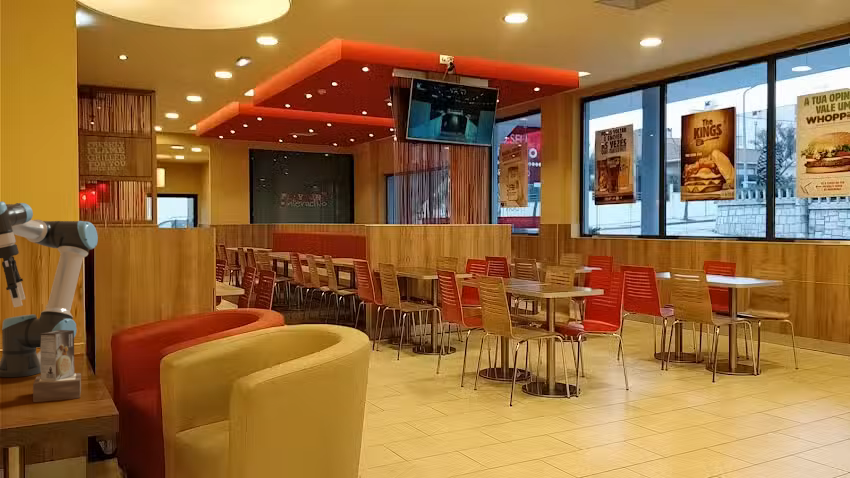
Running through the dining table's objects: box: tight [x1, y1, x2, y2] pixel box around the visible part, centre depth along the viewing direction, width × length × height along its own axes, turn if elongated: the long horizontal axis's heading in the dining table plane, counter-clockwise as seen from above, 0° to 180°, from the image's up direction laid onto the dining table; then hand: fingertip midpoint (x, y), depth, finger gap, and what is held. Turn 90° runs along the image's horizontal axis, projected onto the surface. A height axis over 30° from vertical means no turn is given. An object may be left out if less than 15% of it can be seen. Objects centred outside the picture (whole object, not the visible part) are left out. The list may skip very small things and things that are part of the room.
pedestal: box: [32, 372, 82, 403], centre depth 240 cm, size 14×14×6 cm
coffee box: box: [39, 330, 75, 381], centre depth 239 cm, size 9×6×16 cm
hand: (19, 303), depth 247 cm, fingers open, 13 cm apart
